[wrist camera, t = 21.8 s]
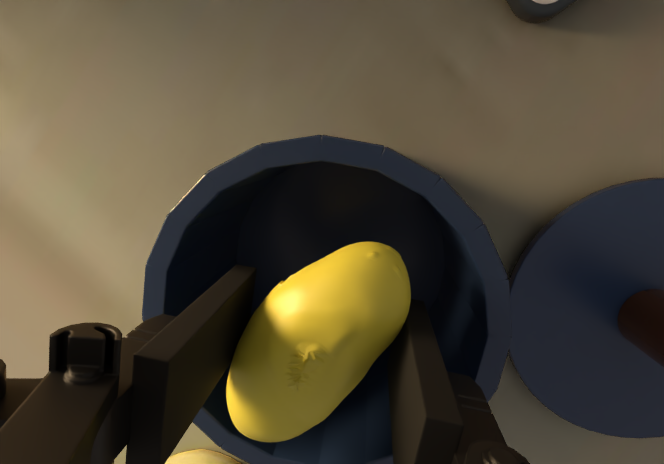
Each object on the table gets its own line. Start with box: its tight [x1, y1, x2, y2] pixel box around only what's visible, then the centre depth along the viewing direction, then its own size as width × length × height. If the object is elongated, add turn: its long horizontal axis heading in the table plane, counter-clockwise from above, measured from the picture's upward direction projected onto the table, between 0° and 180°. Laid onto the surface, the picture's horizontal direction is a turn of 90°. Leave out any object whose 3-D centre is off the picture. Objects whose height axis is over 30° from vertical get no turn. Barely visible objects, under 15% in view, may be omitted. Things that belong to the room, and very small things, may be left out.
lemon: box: [226, 242, 411, 442], centre depth 13 cm, size 4×8×4 cm, turn 137°
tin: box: [142, 135, 512, 464], centre depth 18 cm, size 13×13×8 cm
